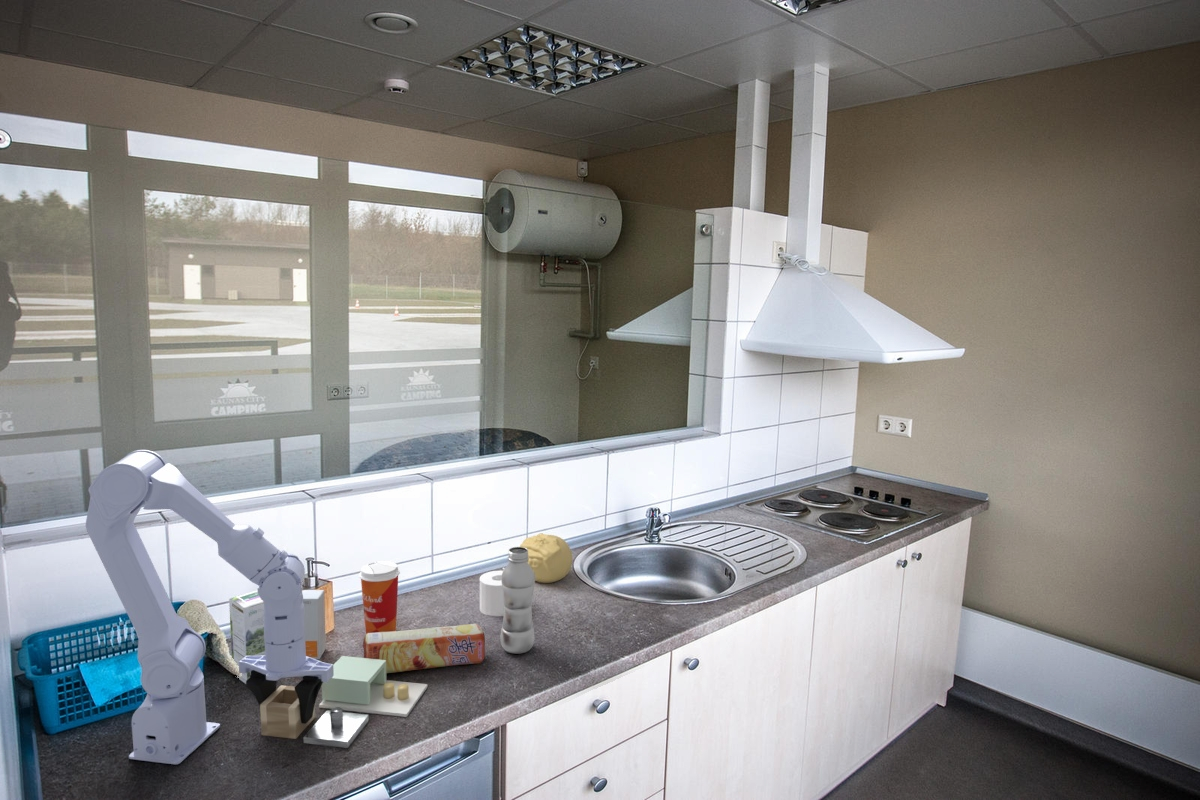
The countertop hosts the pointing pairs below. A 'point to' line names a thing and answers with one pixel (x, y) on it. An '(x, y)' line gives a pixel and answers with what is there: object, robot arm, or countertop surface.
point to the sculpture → (548, 557)
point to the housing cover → (354, 679)
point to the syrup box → (247, 628)
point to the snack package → (426, 647)
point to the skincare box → (314, 622)
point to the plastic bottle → (517, 602)
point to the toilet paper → (491, 594)
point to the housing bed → (385, 699)
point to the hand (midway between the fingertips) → (288, 717)
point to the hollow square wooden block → (282, 714)
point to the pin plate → (336, 728)
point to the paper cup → (380, 596)
